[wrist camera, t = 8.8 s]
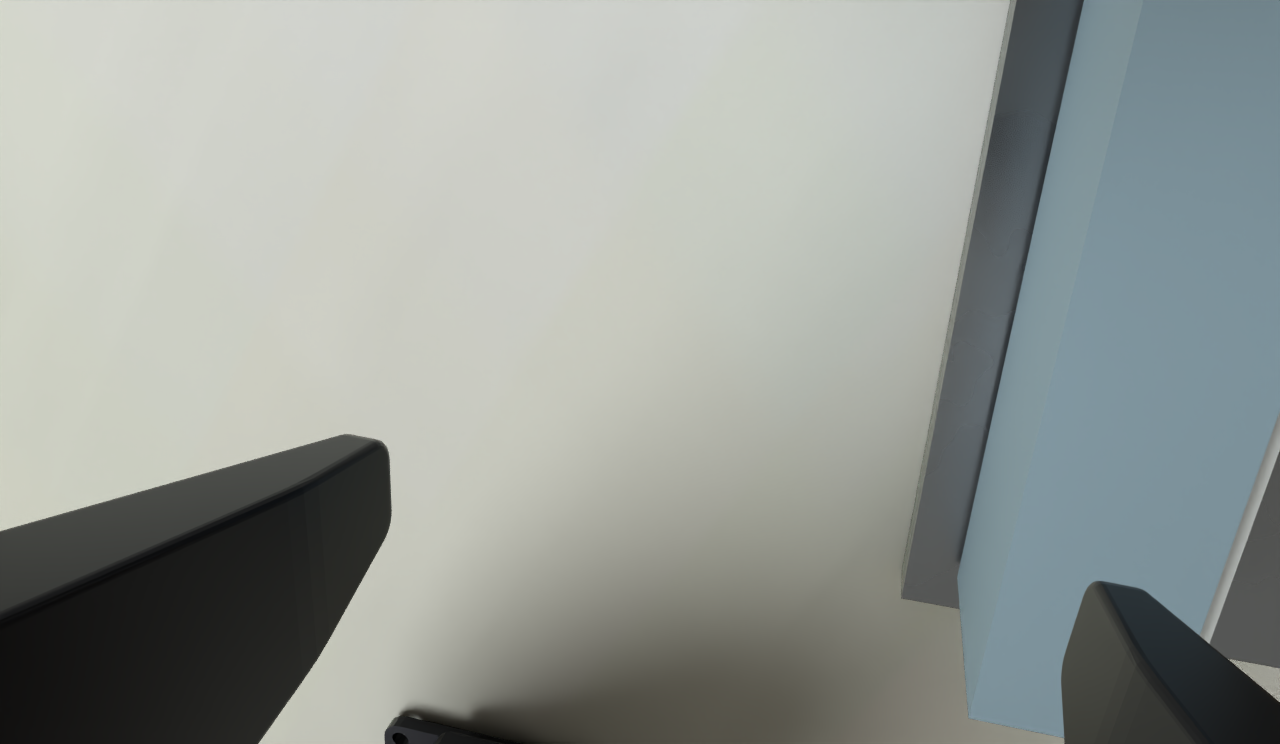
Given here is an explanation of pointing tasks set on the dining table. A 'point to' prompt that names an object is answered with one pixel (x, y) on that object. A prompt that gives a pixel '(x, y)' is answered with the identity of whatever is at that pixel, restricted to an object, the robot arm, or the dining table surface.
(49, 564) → the robot arm
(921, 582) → the vise bed
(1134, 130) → the moving jaw
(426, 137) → the dining table surface
